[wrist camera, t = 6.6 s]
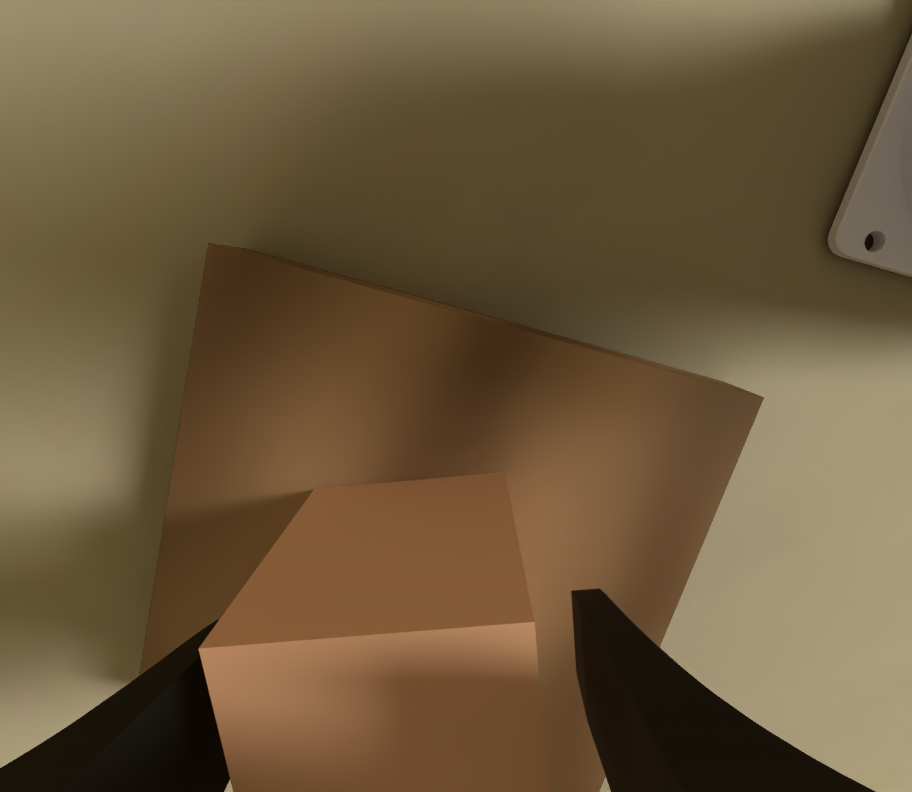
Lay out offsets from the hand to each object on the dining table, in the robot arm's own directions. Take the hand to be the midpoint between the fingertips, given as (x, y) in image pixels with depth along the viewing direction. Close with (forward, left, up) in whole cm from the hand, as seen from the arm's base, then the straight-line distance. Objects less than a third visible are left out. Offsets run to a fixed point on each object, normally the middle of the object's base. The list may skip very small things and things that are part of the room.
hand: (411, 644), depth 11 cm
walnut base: (0, 0, -5) cm, 5 cm away
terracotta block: (0, 0, -3) cm, 3 cm away
